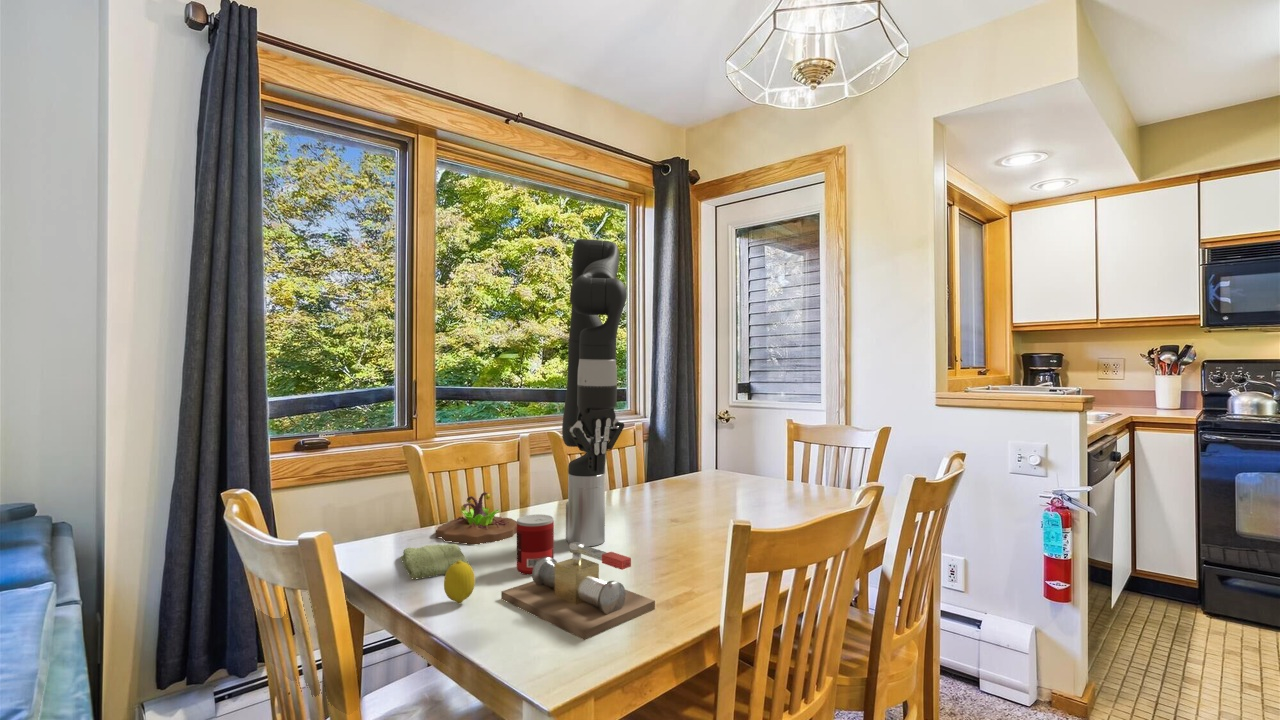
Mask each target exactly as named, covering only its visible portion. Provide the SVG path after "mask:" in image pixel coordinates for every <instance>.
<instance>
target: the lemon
mask: <svg viewBox="0 0 1280 720" xmlns="http://www.w3.org/2000/svg"><path fill="white" fill-rule="evenodd" d="M469 564H470V563H469ZM469 564H467V563H465V562H462V561H461V560H459V561H457V562H456V563H454V564H453V565H451V566H450V567H449V568H448V570H447V572H446V574H444V580H443V589H444V593H445V595H446V596H447V598H448V599H450V600H451V601H453V602H455V603H457V605H458V604H462V602H464V601H465V600H467V599H468V598H469V597H471V595H472V594H473V591H474V590H475V585H476V578H475V573H474V570H473V568H472V566H471V565H469Z"/></svg>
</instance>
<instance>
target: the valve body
mask: <svg viewBox="0 0 1280 720" xmlns="http://www.w3.org/2000/svg"><path fill="white" fill-rule="evenodd" d="M599 565H600V564H599V563H598V562H594V561H592V560H589V559H586V558H583V557H582V554H580V553H572V558H569V559H565V560H562V561H559V562H557V560H556V559H555V558H554V557H553V558H550V557H547V556H546V557H542V558H540V559H539V560H538V561H537V562H536V563H535V565H534V567H533V571H532V575H531V578H532V581H534V583H535V584H537V585H539V586H542V585H547V586H550V587H552V588H554V589H555V596H556V597H559V598H561V599H563V600H566V601H568V602H570V603H573V604H575V605H577V604H579V603H582V602H584V601H585V602H588V603H590V604H592V605H595V606H597V607H599V609H600V611H601V612H602V613H604V614H610V613H612V612H615V611H617V610H619V609H621V608H622V607H623V605H624V602H625V597H626V592H625V590H626V588H625V587H624V586H625V585H624V584H622V583H621V582H620V581H616V580H610V581H606V580H603V579H600V578H599V577H600V576H599V575H600V569H599V567H600V566H599Z"/></svg>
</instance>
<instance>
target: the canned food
mask: <svg viewBox="0 0 1280 720" xmlns="http://www.w3.org/2000/svg"><path fill="white" fill-rule="evenodd" d="M516 521H517V533H516V569H517V572H519V573H520V574H522V573H523V575H527V574H532V571H533V567H534V565H535V563H536V562H537V561H538V560H539V559H540V558H542V557H546V556H547V557H550V558H553V559H554V553H555V552H554V550H555V549H554V542H555V541H554V540H555V538H554V537H555V536H554V535H555V531H554V530H555V528H554V527H555V523H554V522H555V521H554V517H553V516H552V515H549V514H528V515H523V516H520V517H518V518H517V519H516Z"/></svg>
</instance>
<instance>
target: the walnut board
mask: <svg viewBox="0 0 1280 720" xmlns="http://www.w3.org/2000/svg"><path fill="white" fill-rule="evenodd" d="M500 592H501V595H500V596H501V597H500V599H501V600H502V599H503V600H502V601H504V600H505V601H504V602H506V601H507V602H506V603H508V604H510V605H513V606H514V607H515V608H516V607H517V608H518V607H519V608H518V609H520V608H521V610H522V609H523V610H522V611H524V610H525V611H524V612H526V611H527V612H526V613H528V612H529V614H530V613H531V615H532V614H533V615H532V616H534V615H535V617H536V616H537V618H539V619H541V620H543V621H545V622H547V623H548V624H550V625H552V626H555V627H556V628H559V629H561V630H563V631H566V632H567V633H569V634H571V635H573V636H575V637H577V638H580V639H581V640H584V641H586V640H589V639H590V638H592V637H596V636H597V635H599V634H601V633H604V632H606V631H608V630H610V629H613V628H615V627H618V626H619V625H622V624H624V623H627V622H629V621H631V620H633V619H635V618H638V617H640V616H642V615H645V614H647V613H649V612H651V611H653V610H655V609H656V601H655V599H652V598H649V597H646V596H643V595H641V594H638V593H636V592H632V591H630V590H628V589H625V592H626V597H625V602H624V605H623V607H622V608H621V609H619V610H617V611H615V612H612V613H610V614H604V613H602V612H601V611H600V609H599V607H597V606H595V605H592V604H590V603H588V602H585V601H584V602H582V603H579V604H577V605H575V604H573V603H570V602H568V601H566V600H563V599H561V598H559V597H556V596H555V589H554V588H552V587H550V586H547V585H542V586H539V585H537V584H535V583H534V581H533V580H532V581H529V582H526V583H522V584H521V585H517V586H514V587H511V588H508V589H504V590H501V591H500Z"/></svg>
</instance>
